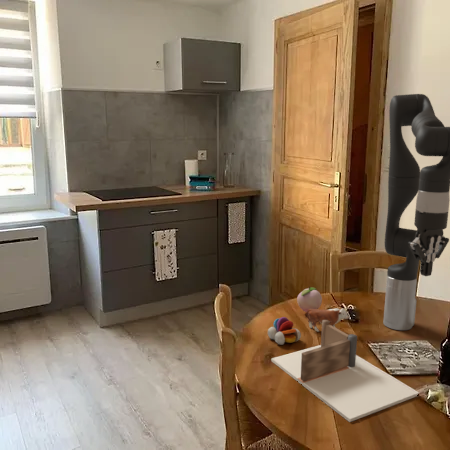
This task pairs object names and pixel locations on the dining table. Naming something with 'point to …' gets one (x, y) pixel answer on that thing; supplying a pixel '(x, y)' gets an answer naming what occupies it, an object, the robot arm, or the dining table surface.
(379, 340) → the dining table surface
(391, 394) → the board
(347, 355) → the hinged fence panel
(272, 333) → the rainbow toy vehicle
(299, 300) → the decorative fruit
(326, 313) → the bull figurine
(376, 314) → the dining table surface
